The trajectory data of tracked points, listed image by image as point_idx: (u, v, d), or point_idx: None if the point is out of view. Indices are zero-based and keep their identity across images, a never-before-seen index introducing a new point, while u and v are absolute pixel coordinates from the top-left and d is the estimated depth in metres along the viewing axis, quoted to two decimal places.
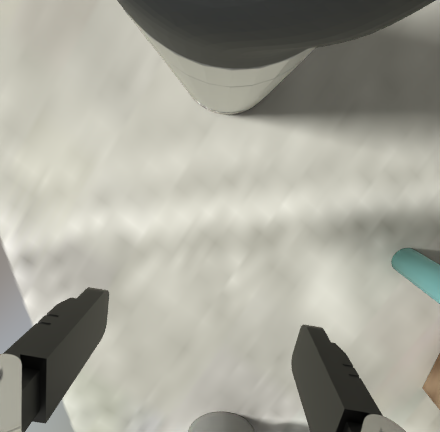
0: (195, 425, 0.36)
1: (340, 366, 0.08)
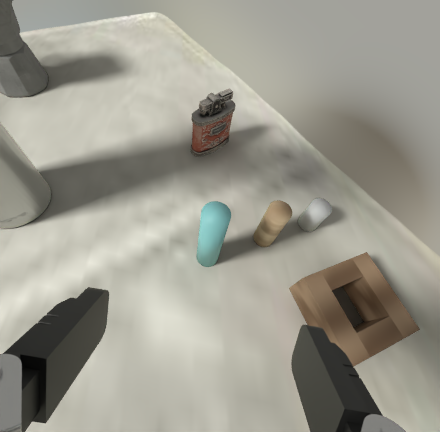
0: None
1: (340, 366, 0.08)
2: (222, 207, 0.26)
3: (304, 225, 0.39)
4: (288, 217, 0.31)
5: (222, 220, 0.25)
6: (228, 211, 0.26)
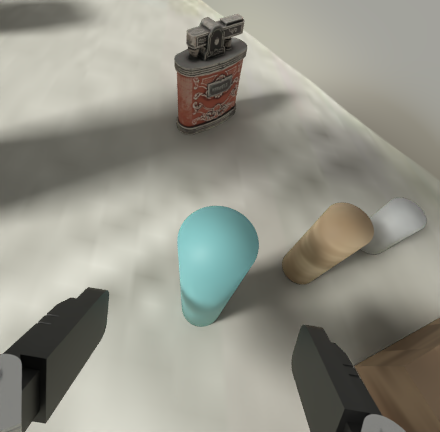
0: None
1: (340, 366, 0.08)
2: (235, 221, 0.10)
3: (369, 244, 0.23)
4: (368, 237, 0.15)
5: (236, 258, 0.09)
6: (251, 232, 0.10)
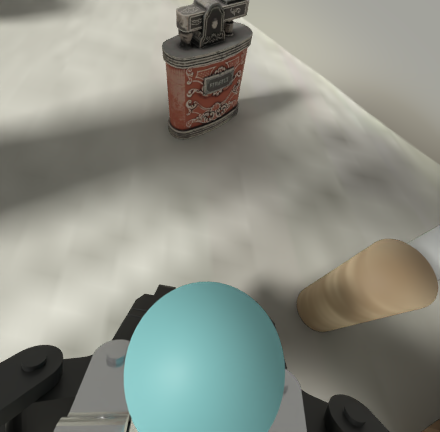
0: None
1: None
2: (239, 315, 0.05)
3: None
4: (430, 293, 0.10)
5: (241, 406, 0.05)
6: (269, 338, 0.05)
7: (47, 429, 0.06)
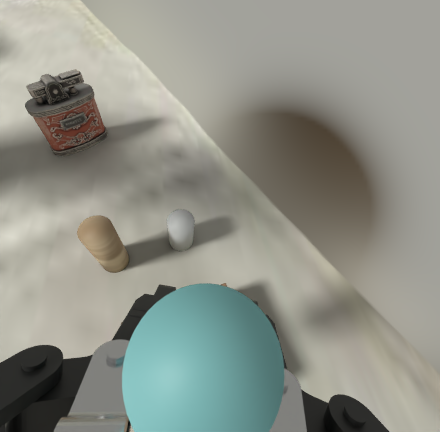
0: None
1: None
2: (238, 317, 0.05)
3: (171, 243, 0.31)
4: (103, 239, 0.23)
5: (240, 409, 0.04)
6: (269, 341, 0.05)
7: (48, 429, 0.06)
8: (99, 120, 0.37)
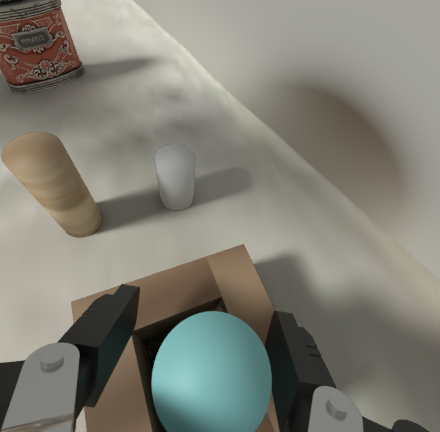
0: None
1: (302, 346, 0.09)
2: (237, 338, 0.07)
3: (163, 198, 0.22)
4: (44, 164, 0.14)
5: (239, 408, 0.06)
6: (260, 357, 0.07)
7: None
8: (71, 47, 0.28)
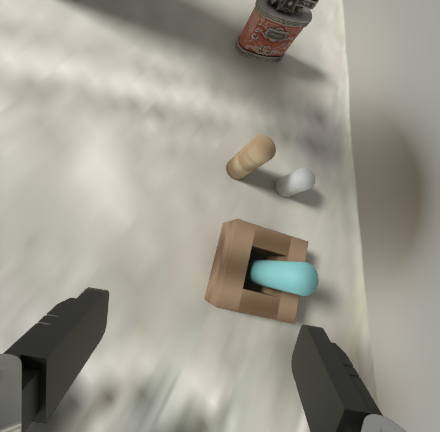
0: None
1: (340, 366, 0.08)
2: (313, 275, 0.24)
3: (280, 186, 0.37)
4: (265, 158, 0.28)
5: (306, 289, 0.23)
6: (316, 283, 0.24)
7: None
8: (289, 45, 0.38)
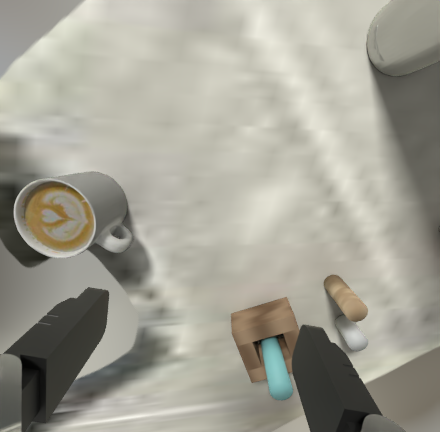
0: (97, 173, 0.38)
1: (340, 366, 0.08)
2: (287, 395, 0.34)
3: (341, 321, 0.43)
4: (349, 317, 0.35)
5: (275, 394, 0.34)
6: (283, 398, 0.34)
7: None
8: None
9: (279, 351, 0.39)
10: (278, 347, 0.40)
